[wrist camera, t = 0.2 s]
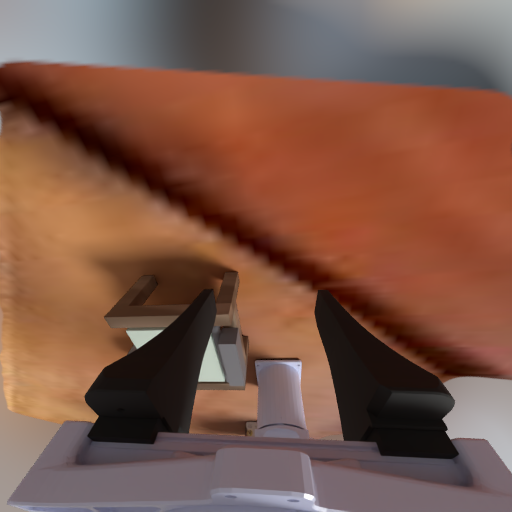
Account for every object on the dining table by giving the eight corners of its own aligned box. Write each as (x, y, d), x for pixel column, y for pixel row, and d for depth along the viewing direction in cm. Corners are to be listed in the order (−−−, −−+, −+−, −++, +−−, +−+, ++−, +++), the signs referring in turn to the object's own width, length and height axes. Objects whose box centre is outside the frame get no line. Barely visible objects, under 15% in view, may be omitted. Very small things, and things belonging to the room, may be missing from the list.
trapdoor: (247, 374, 26) (245, 391, 24) (161, 374, 27) (154, 390, 25) (236, 319, 20) (234, 336, 19) (130, 322, 21) (118, 337, 20)
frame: (248, 342, 32) (244, 390, 26) (173, 343, 33) (152, 389, 27) (237, 271, 25) (228, 314, 19) (141, 275, 26) (103, 317, 20)
